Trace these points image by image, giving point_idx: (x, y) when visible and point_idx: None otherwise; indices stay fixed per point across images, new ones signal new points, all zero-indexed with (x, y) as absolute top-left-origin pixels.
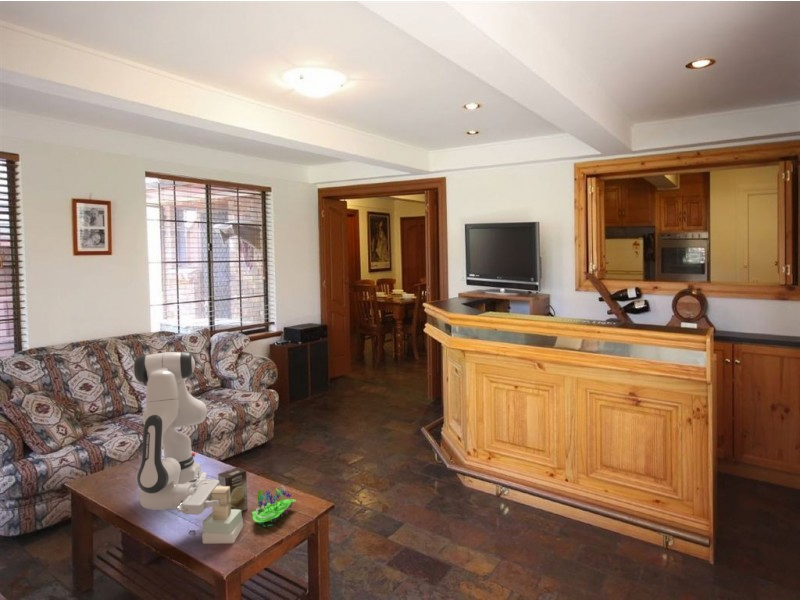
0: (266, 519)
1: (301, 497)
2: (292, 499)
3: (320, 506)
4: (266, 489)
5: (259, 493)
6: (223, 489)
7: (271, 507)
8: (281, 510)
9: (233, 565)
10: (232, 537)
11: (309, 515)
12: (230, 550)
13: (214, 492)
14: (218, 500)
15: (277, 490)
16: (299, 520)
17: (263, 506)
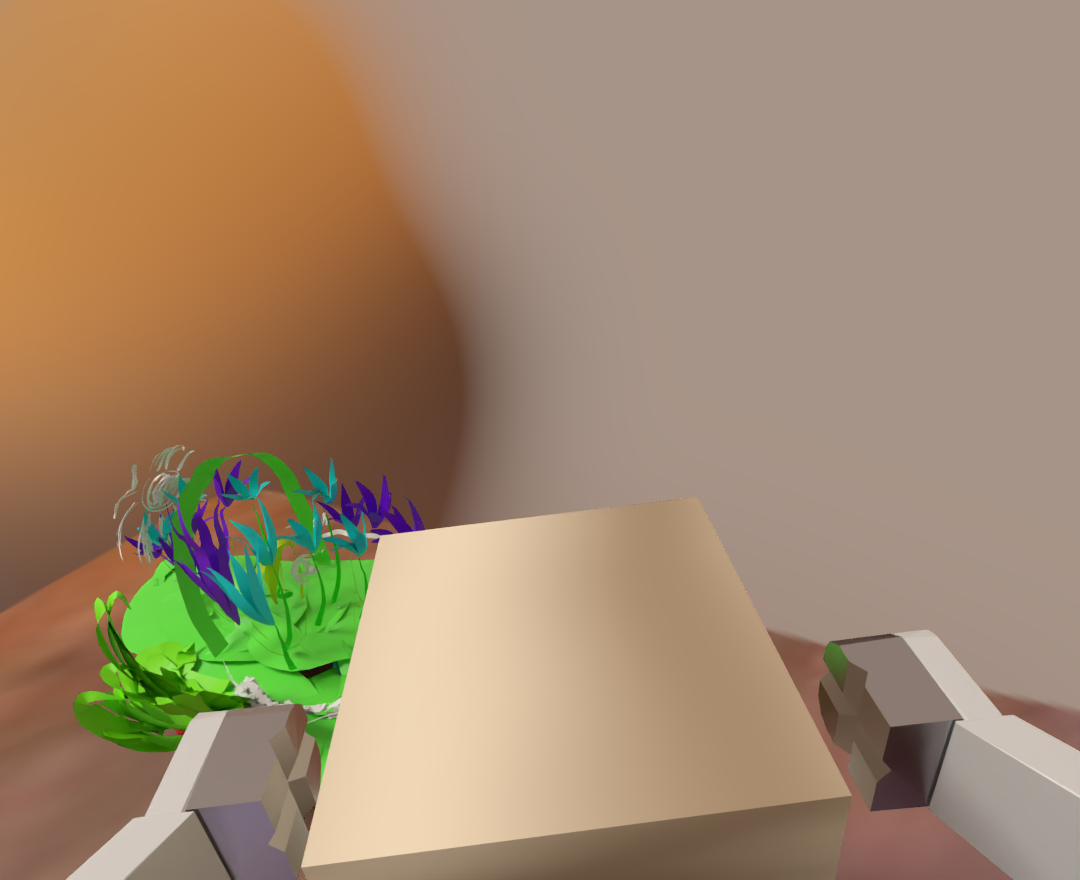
0: None
1: (28, 621)
2: (161, 566)
3: (230, 510)
4: (180, 520)
5: (120, 642)
6: (552, 576)
7: (255, 645)
8: (323, 578)
9: (1053, 731)
10: None
11: (325, 526)
12: (880, 863)
13: (786, 707)
14: (894, 638)
15: (250, 453)
16: (375, 551)
17: (244, 684)
